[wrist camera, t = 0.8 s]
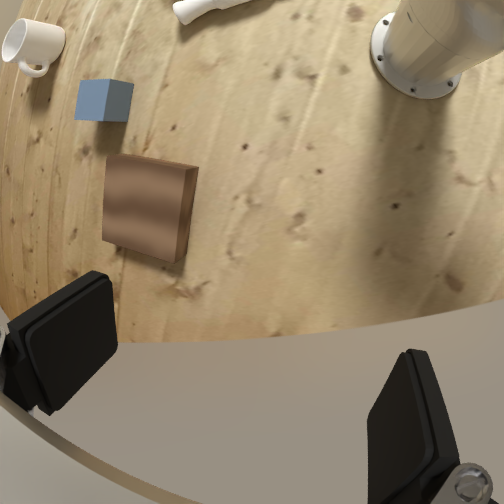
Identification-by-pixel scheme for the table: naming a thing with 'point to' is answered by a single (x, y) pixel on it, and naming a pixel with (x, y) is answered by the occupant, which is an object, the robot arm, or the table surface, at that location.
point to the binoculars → (200, 8)
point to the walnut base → (148, 205)
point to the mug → (33, 45)
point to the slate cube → (104, 100)
